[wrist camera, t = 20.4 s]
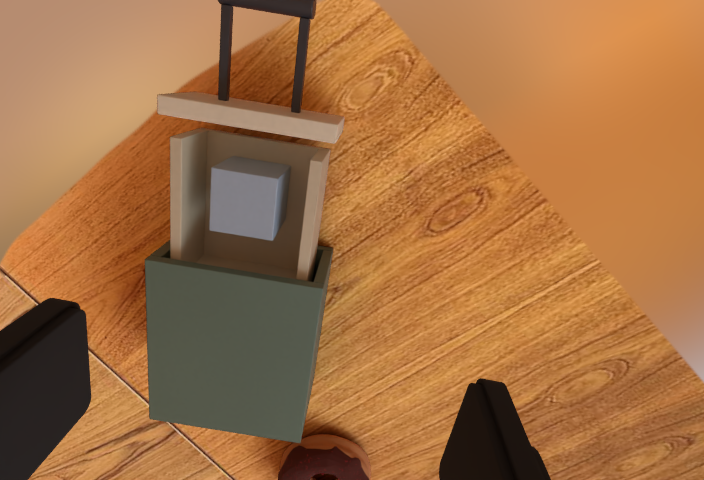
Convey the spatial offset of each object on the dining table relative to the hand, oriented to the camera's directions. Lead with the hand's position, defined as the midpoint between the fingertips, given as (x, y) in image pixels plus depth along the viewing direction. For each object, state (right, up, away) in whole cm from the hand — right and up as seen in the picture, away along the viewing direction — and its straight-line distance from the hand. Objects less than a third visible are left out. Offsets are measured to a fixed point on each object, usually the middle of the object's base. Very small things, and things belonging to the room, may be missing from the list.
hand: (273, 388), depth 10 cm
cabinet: (-7, -3, +29) cm, 30 cm away
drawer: (-5, +11, +22) cm, 25 cm away
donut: (-1, -21, +36) cm, 41 cm away
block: (-5, +8, +22) cm, 24 cm away
